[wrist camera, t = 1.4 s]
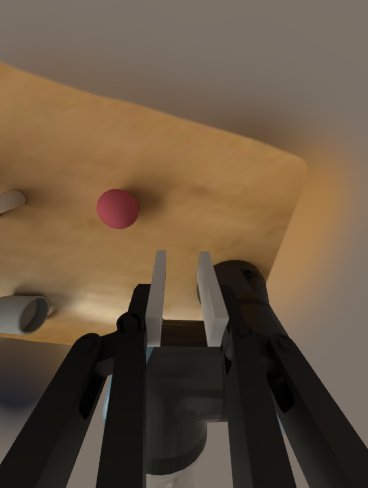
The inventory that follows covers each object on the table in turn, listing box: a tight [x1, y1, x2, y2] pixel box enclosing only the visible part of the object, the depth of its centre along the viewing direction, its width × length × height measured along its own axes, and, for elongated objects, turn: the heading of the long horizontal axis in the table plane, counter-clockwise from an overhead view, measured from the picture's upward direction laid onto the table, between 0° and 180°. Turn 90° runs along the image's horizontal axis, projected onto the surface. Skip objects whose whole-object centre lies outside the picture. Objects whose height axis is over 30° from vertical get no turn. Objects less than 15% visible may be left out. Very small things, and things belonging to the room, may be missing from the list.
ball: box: [97, 189, 139, 229], centre depth 26 cm, size 6×6×6 cm
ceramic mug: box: [0, 296, 49, 335], centre depth 37 cm, size 11×8×8 cm
